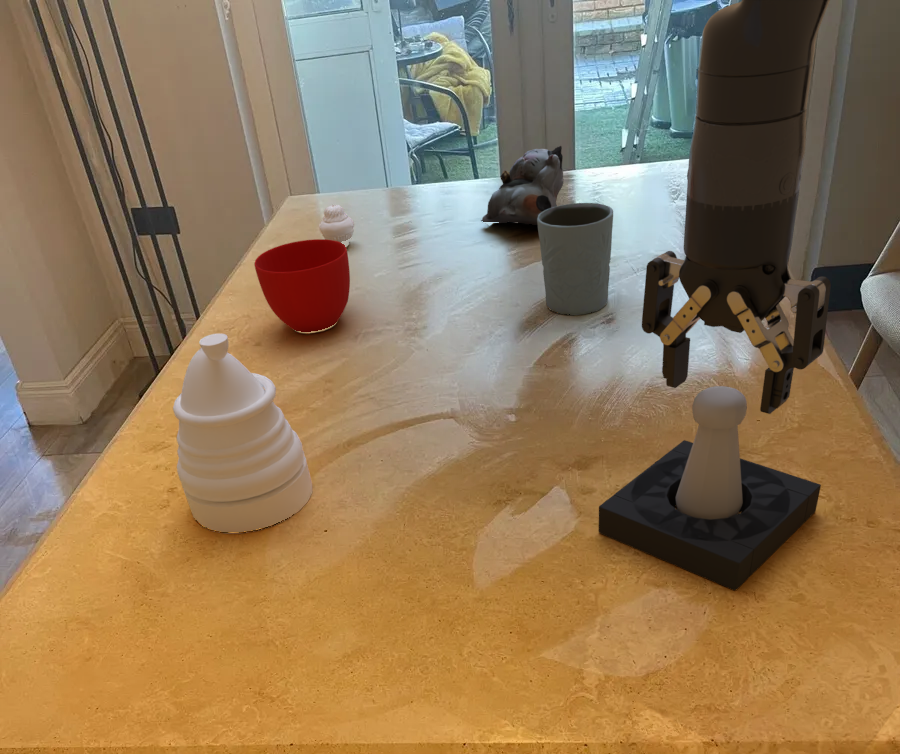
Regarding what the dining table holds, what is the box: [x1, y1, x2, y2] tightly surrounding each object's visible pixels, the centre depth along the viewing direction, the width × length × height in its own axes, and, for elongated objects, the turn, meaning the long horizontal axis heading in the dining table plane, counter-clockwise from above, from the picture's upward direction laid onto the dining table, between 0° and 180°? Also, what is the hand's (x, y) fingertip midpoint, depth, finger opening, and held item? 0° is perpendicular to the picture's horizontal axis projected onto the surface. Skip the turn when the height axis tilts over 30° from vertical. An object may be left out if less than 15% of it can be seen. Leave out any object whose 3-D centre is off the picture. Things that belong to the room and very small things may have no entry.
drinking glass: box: [537, 202, 614, 316], centre depth 116 cm, size 10×10×12 cm
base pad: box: [598, 439, 822, 591], centre depth 77 cm, size 14×14×3 cm
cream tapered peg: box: [675, 385, 748, 520], centre depth 74 cm, size 6×6×13 cm
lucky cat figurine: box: [480, 145, 565, 226], centre depth 144 cm, size 15×12×14 cm
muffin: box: [318, 204, 355, 242], centre depth 147 cm, size 6×6×7 cm
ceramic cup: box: [254, 238, 351, 332], centre depth 122 cm, size 13×17×10 cm
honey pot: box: [172, 332, 313, 532], centre depth 84 cm, size 13×13×18 cm
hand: (721, 395), depth 70 cm, fingers open, 8 cm apart
